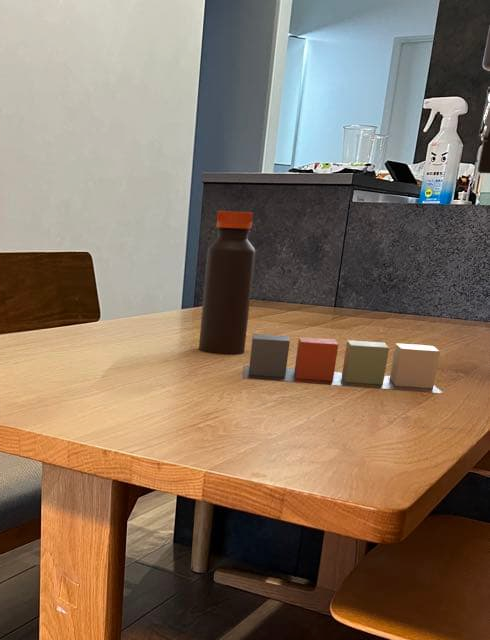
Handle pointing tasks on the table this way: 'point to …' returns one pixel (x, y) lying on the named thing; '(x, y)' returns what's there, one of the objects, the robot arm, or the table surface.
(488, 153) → the robot arm
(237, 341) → the bottle
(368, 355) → the sage block
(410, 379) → the cream block
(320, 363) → the terracotta block
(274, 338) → the slate block
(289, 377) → the light grey flat plate
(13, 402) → the table surface
